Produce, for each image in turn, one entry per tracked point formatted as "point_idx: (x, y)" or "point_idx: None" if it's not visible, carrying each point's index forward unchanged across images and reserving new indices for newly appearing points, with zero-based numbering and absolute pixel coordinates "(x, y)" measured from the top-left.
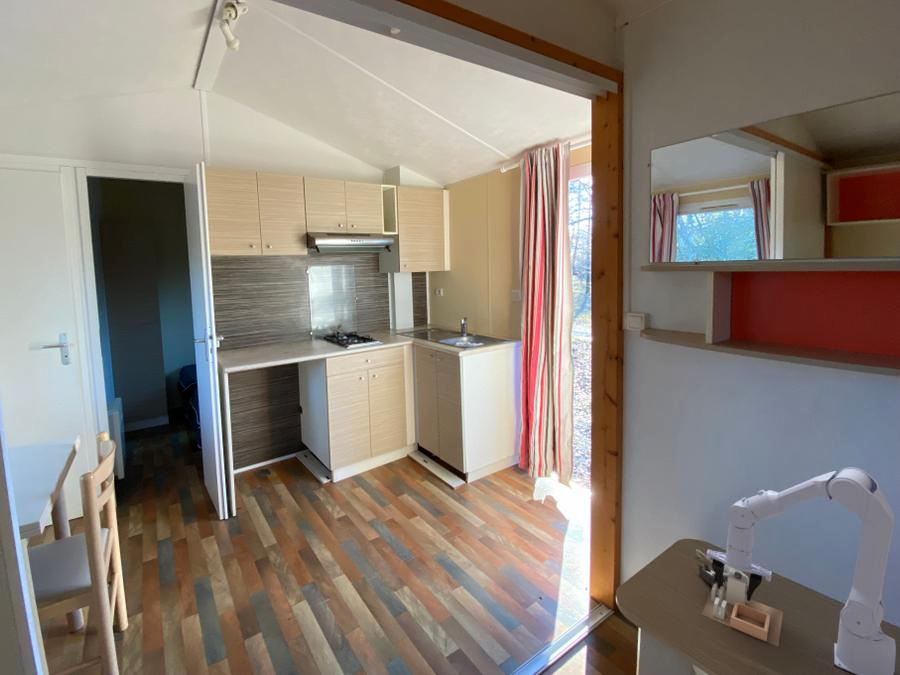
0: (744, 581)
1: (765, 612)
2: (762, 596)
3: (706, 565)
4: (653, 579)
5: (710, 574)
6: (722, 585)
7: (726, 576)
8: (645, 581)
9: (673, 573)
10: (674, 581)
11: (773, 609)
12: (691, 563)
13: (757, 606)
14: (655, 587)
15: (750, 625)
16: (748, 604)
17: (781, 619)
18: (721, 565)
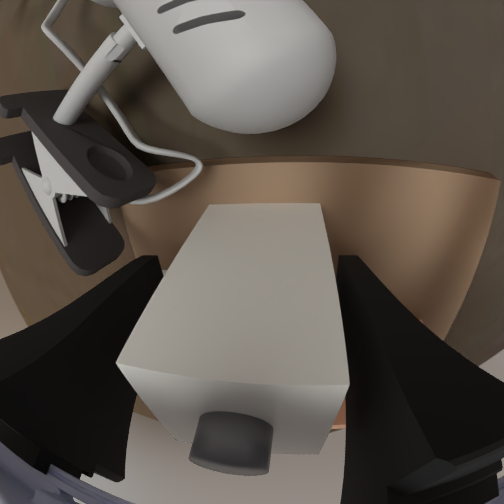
0: (308, 442)
1: (423, 247)
2: (394, 27)
3: (4, 114)
4: (18, 277)
5: (53, 224)
6: (155, 280)
7: (128, 51)
8: (22, 299)
9: (7, 194)
10: (34, 244)
11: (465, 188)
12: (9, 49)
13: (389, 219)
14: (45, 311)
15: (340, 427)
16: (338, 231)
17: (479, 256)
18: (84, 471)
